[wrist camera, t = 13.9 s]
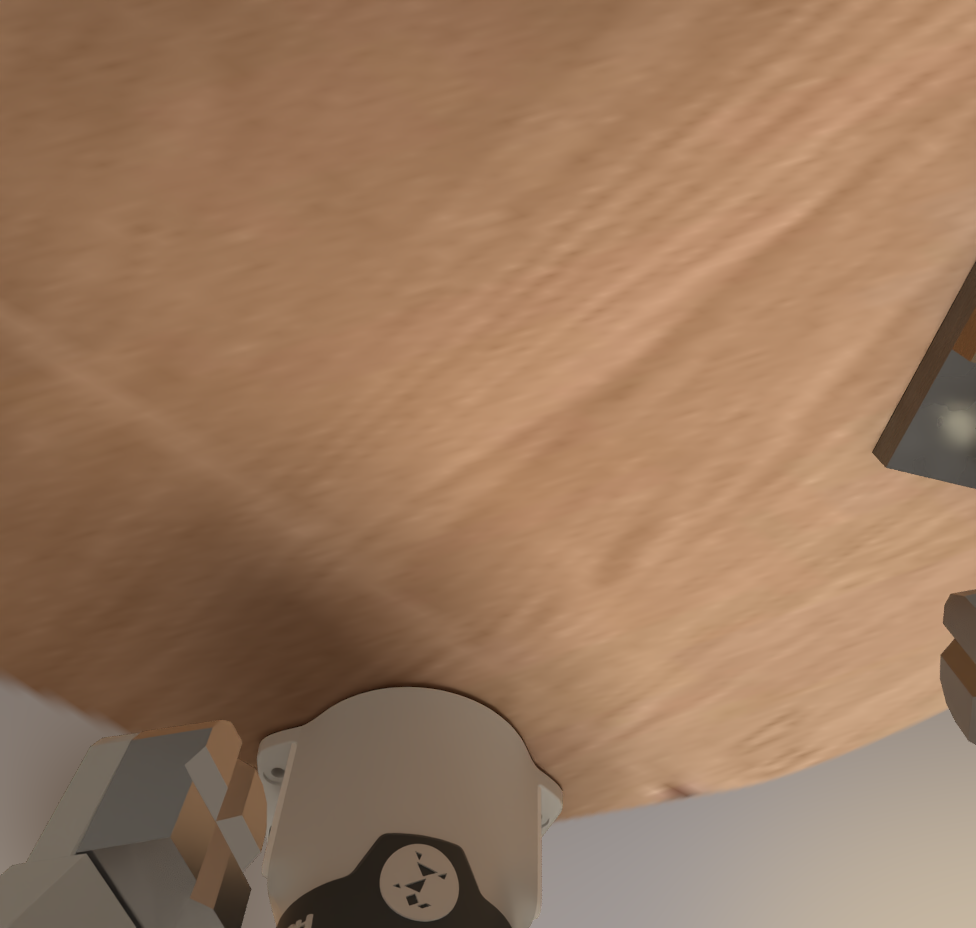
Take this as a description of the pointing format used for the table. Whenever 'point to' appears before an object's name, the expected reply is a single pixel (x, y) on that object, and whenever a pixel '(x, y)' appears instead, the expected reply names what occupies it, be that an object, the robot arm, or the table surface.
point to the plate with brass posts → (940, 404)
